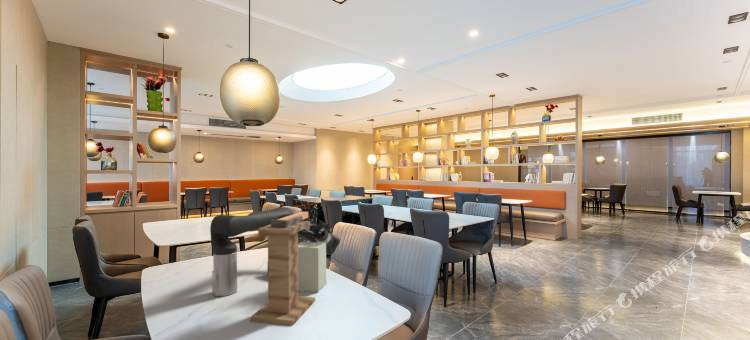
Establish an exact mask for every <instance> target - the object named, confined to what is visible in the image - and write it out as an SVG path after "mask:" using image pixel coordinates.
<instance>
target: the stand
mask: <svg viewBox="0 0 750 340" xmlns="http://www.w3.org/2000/svg"><path fill="white" fill-rule="evenodd" d="M310 224H311V221H309V220H303V221H302V216H299V217H296V218H293V219H291V220H288V221H287V220H271V224H270V225H267V226H264V227H261V228H259V229H258V232H257V234H258V235H267V294H268V296H267V297H268V298H267V303H266V304H264V305H263V306H262V307H260V308H259V309H258V310H256V312H254V313H253V314H252V315H250V320H249V321H250V322H255V323H256V322H257V323H266V324H267V323H269V324H279V325H287V326H288V325H289V326H294V325H295V324H296V323H297V322H298V321H299V319H300V318H301V317H302V316H303V315H304V314H305V313H306V312H307V311H308V310H309V308H311V306H313V304H314V303H315V302H316V297H312V296H301V295H299V291H298V244H299V236H298V232H299V231H301V230H303V229H305V228H307V227H309V226H310Z"/></svg>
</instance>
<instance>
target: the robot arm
mask: <svg viewBox="0 0 750 340" xmlns="http://www.w3.org/2000/svg"><path fill="white" fill-rule="evenodd" d="M293 214H294V212H293V210H292V209H291V208H289V207H284V206H282V207H274V208H272V209H268V210H260V211H252V212H250V213H249V214H248V215H232V214H231V215H229V214H217V215H215V216H214V217H213V218H212V220H211V222H210V227H209V229H210V231H209V232H210V245H211V246H210V247H211V249H212V253H213V255H212V256H213V258H212V259H213V260H212V261H213V265H212V266H213V270H212V271H211V282H212V283H211V287H212V289H211V293H212V294H213V295H214V297H224V296H225V297H226V296H230V295H233V294H235V293H237V291H238V246H237V244H236V243H234V242H232V241H231V240H230V238H233V237H237V236H239V235H242V234H244V233H248V232H256V231H258V229H259V228H261V227H264V226H267V225H270V224H271V220H277V219H280V218H284V217H287V216H290V215H293ZM302 221H304V219H303V220H302ZM332 230H333V229H332V226H331V224H330V223H324V222H323V221H322V220H319V221H318V224H313V223H310V226H309V227H307V228H305V229H303V230H301V231H299V232H298V237H301V238H304V239H306V240H307V241H308V242H319V243H326V256H327V255H328V256H331V255H334V253H335V252H336V250H337V249H338V246H339V245H340V242H341V240H340V238H339V236H337V235H335V234H332Z"/></svg>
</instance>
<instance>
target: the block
mask: <svg viewBox="0 0 750 340" xmlns="http://www.w3.org/2000/svg"><path fill="white" fill-rule="evenodd" d="M299 216H302V220H303V221H304V220H306V219H308V218H309V211H300V212H297V213H293V215H290V216H287V217H284V218H280V219H277V220H287V221H288V220H291V219H293V218H296V217H299Z"/></svg>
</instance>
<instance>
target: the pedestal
mask: <svg viewBox="0 0 750 340" xmlns="http://www.w3.org/2000/svg"><path fill="white" fill-rule="evenodd" d="M326 285H327V254H326V243H319V242H311V241H301V242H300V241H299V242H298V292H307V293H308V292H311V293H319V292H320V291H321V290H322V289H323V288H325V286H326Z"/></svg>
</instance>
